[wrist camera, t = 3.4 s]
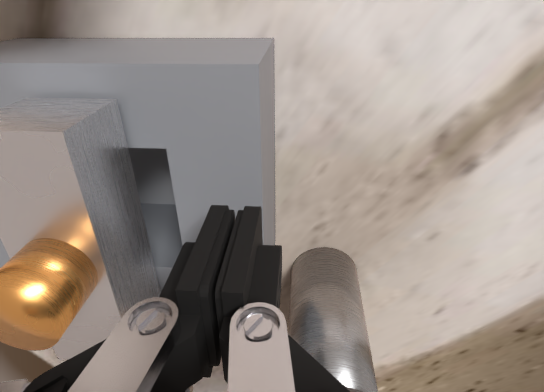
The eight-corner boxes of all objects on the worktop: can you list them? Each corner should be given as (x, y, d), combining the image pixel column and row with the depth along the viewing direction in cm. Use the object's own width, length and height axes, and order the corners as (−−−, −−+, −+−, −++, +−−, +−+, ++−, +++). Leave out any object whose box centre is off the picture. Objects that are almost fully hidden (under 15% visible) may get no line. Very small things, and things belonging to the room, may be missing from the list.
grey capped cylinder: (369, 242, 21) (412, 419, 13) (360, 303, 24) (390, 486, 15) (283, 239, 22) (268, 408, 13) (283, 299, 24) (270, 475, 16)
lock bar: (117, 98, 12) (3, 167, 7) (162, 302, 16) (110, 419, 12) (26, 97, 12) (-135, 164, 7) (97, 299, 16) (22, 412, 12)
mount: (274, 38, 16) (258, 64, 11) (275, 238, 22) (265, 318, 16) (17, 38, 17) (-109, 62, 12) (81, 230, 23) (14, 304, 17)
